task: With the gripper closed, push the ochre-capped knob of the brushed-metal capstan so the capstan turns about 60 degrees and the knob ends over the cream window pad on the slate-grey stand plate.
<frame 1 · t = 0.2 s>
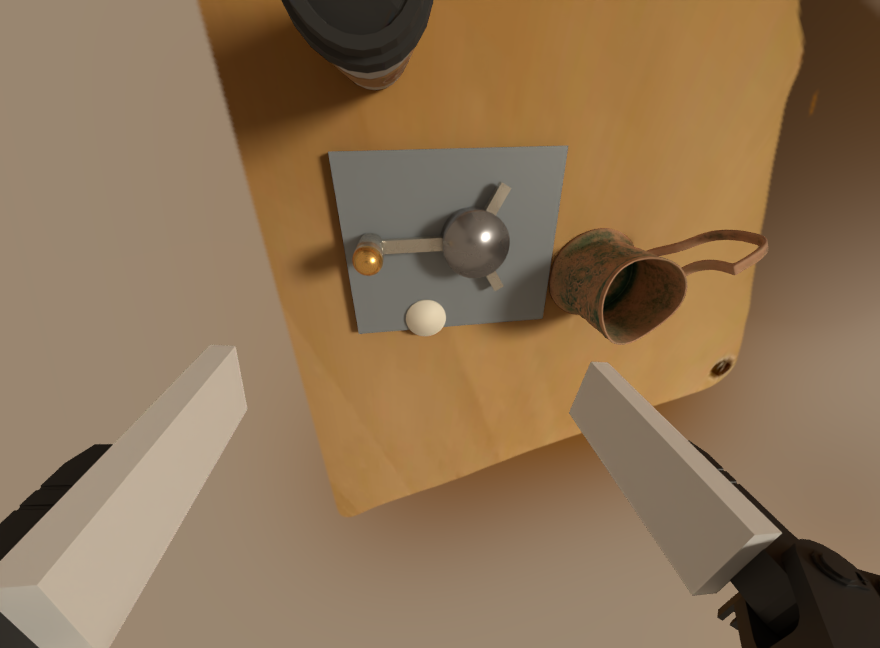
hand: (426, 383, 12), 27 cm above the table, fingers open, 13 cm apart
mug: (611, 259, 41), on the table
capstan: (436, 250, 32), point 5 cm above the table, hinge at 0.0°
stand plate: (451, 246, 37), on the table
coffee cup: (371, 47, 28), on the table
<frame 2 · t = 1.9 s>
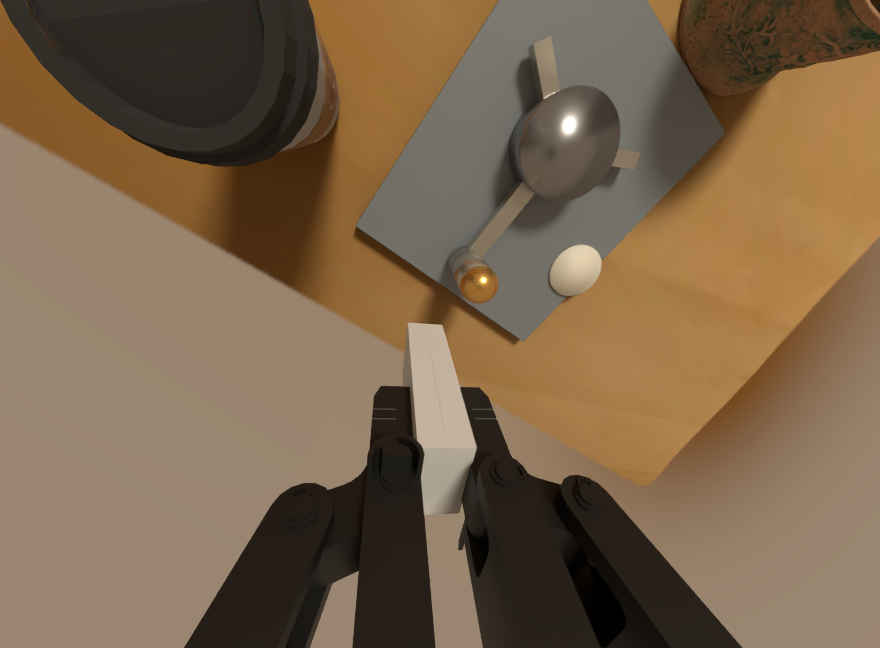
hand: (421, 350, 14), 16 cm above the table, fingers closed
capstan: (531, 201, 23), point 5 cm above the table, hinge at 0.0°
stand plate: (535, 177, 27), on the table
coffee cup: (294, 93, 22), on the table
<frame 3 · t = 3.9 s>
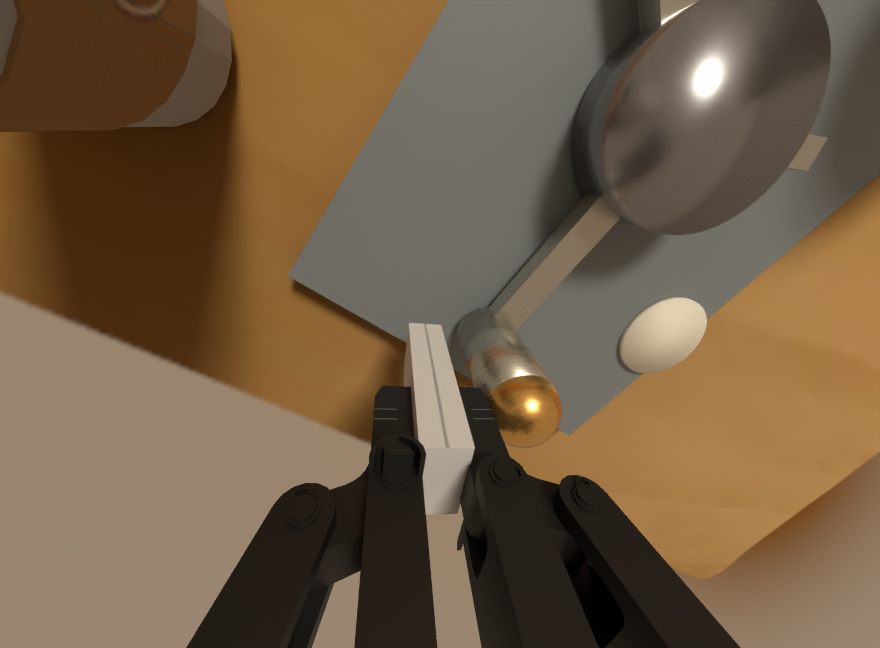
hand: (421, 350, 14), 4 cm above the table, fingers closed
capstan: (627, 239, 11), point 5 cm above the table, hinge at 0.5°, touching gripper
stand plate: (609, 187, 15), on the table
coffee cup: (139, 18, 11), on the table
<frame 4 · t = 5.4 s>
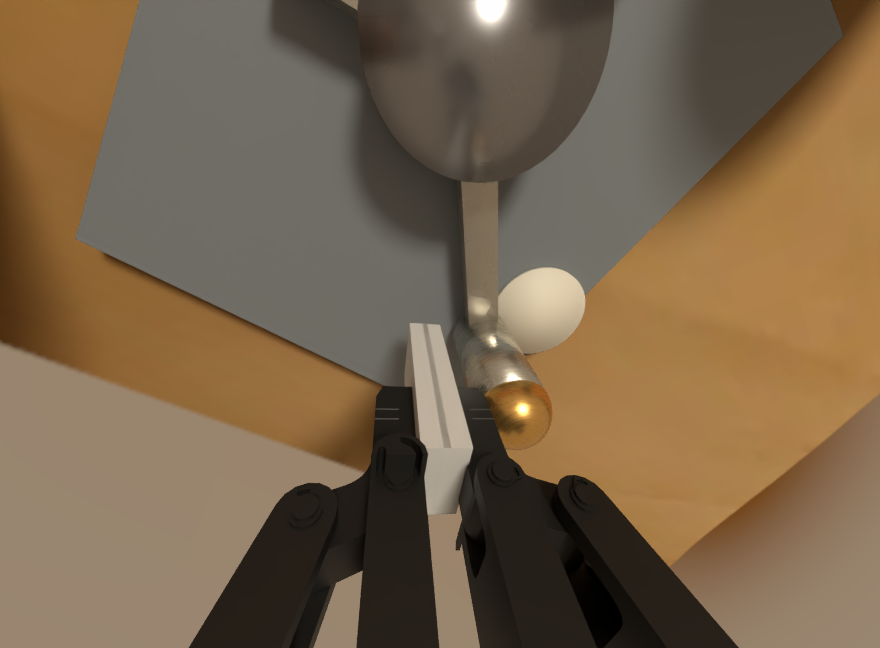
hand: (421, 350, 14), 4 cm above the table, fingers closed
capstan: (495, 211, 10), point 5 cm above the table, hinge at 42.7°, touching gripper
stand plate: (449, 139, 13), on the table
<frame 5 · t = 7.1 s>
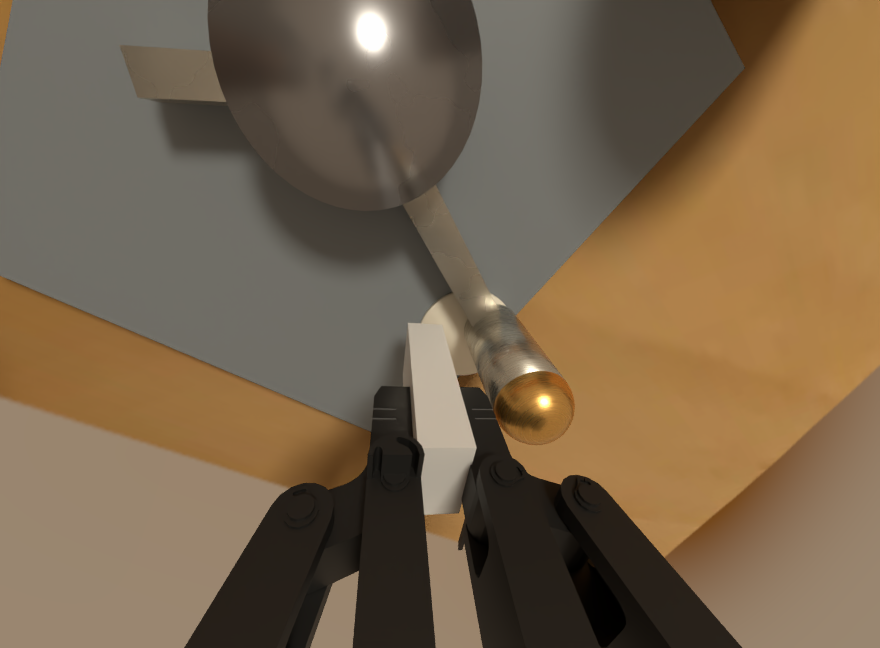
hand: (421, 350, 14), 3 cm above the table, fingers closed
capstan: (434, 222, 10), point 5 cm above the table, hinge at 66.5°
stand plate: (362, 162, 13), on the table
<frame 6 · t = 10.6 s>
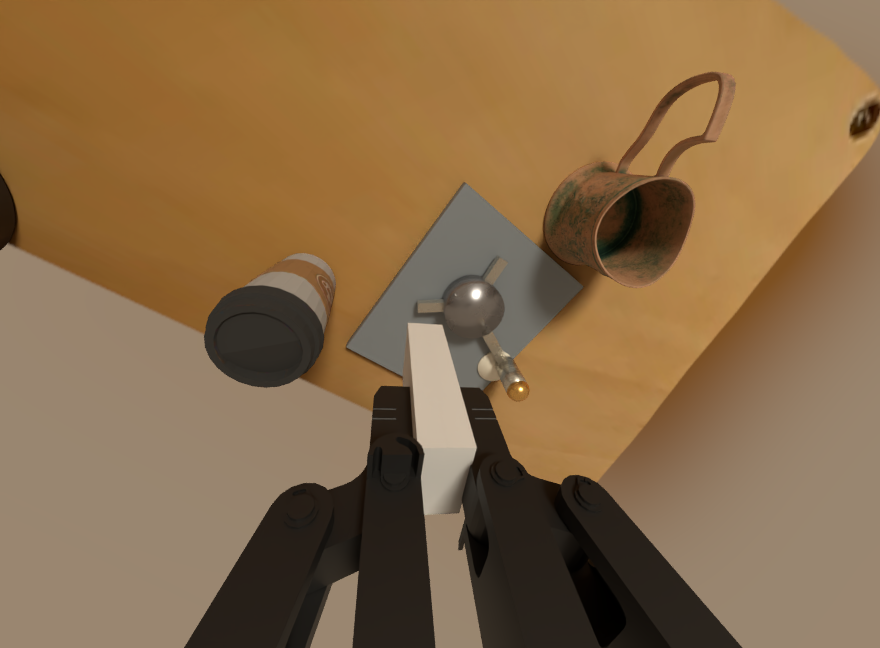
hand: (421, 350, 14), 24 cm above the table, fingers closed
mug: (598, 188, 36), on the table
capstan: (491, 341, 38), point 5 cm above the table, hinge at 66.5°
stand plate: (463, 312, 41), on the table
coffee cup: (308, 278, 37), on the table
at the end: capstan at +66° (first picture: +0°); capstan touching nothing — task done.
